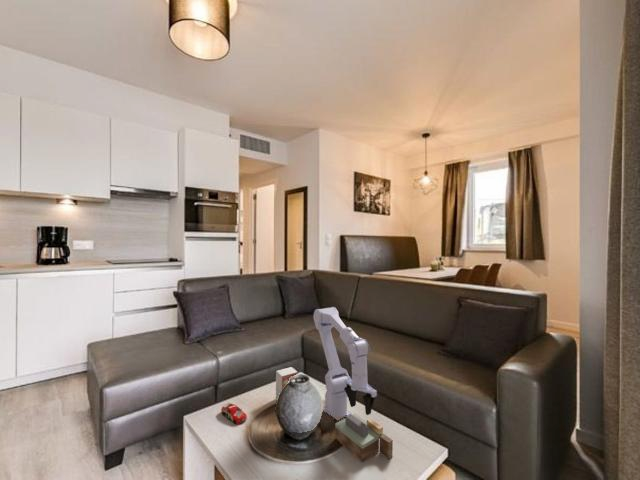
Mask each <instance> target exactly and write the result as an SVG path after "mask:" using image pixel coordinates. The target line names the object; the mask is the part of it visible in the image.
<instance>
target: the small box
mask: <svg viewBox="0 0 640 480" xmlns="http://www.w3.org/2000/svg"><path fill="white" fill-rule="evenodd" d="M296 374H298V375H299V372H298V371H297V370H296V369H295V368H294V367H292V366H290V367H287V368H286V367H285V368H282V369H278V370H276V371H275V400H277V398H278V396H279V393H280V392H281V390H282V389H283V387H284V386H285V385H286V384H287V383H288V381H289V378H290V377H291V376H294V375H296Z"/></svg>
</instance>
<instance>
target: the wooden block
mask: <svg viewBox="0 0 640 480" xmlns="http://www.w3.org/2000/svg"><path fill="white" fill-rule="evenodd" d="M366 422H367V426H368V427H369V428H371V429H372V430H373V431H375V432H376V433H378V434H381V433H383V429H384V428H383V426H382V425H380V424H379V423H378V422H376V421H375V420H373V419H372V418H368V419H366ZM383 434H384V433H383Z"/></svg>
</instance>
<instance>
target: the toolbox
mask: <svg viewBox="0 0 640 480" xmlns="http://www.w3.org/2000/svg"><path fill="white" fill-rule="evenodd" d="M334 428H335V429H334V437H335V438H336V439H338V440H339V441H341V442H342V443H343V445H344V446H343V445H342V446H343V447H344V448H346V449H347V450H348V451H349V452H350V453H351V454H352V455H353V456H355V457H356V458H357V459H358V460H359V461H360V462H362V463H363V462H365V461H367V460H368V459H369V458H371V457H372V456H374V455H376V454H378V453H380V454H381V455H382V456H384V457H385V458H386V459H387V460H390V459H391V458H393V443H394V441H393V439H392V438H390V437H389V436H388V435H386V434H384V433H383V434H382V435H381V436H380V439H378V440H376V441H375V442H373V443H371V444H370V445H368V446H366V447H365V448H363V449H362V448H361V447H360V446H358V445H357V444H356V443H355V442H353V441H352V440H351V439H350V438H348V437H347V436H346V435H345V434H344V433H342V432H341V431H340V430H339V429H337V428H336V427H334ZM335 438H334V439H335ZM336 439H335V440H336Z"/></svg>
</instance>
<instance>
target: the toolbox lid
mask: <svg viewBox="0 0 640 480" xmlns="http://www.w3.org/2000/svg"><path fill="white" fill-rule="evenodd" d="M334 425H335V427H336V428H337V429H339V430H340V431H341V432H342V433H344V434H345V435H346V436H347V437H348V438H350V439H351V440H352V441H353V442H355V443H356V444H357V445H358V446H360V447H361V448H362V449H363V448H365V447H366V446H368V445H370V444H371V443H373V442H375V441H376V440H378V439H379V440H380V436H381V435H382V434H384V433H381V434H378V433H376V432H375V431H373V430H372V429H371V428H369V427H368V426H367V420H365V419H363V418H361V417H360V416H358V415H357V413H354V414H349V415H347V416H346V418H343V419H341V420H339V421H337V422H336V423H334ZM335 427H334V428H335Z"/></svg>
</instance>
